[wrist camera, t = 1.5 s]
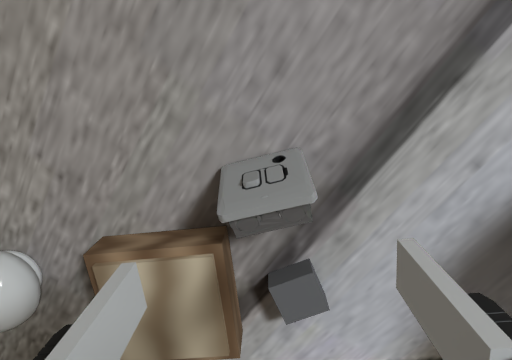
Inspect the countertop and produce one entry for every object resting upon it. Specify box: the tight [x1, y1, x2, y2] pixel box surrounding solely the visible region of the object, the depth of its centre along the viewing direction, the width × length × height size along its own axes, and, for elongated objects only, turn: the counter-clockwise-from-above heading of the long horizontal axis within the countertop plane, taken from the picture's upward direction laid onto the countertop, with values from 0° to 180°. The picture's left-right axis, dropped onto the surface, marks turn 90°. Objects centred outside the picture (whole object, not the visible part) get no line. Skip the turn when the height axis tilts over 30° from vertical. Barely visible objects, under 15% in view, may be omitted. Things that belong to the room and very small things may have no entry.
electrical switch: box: [217, 148, 318, 238], centre depth 29 cm, size 8×5×8 cm, turn 105°
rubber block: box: [268, 259, 329, 325], centre depth 35 cm, size 5×5×3 cm
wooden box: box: [83, 226, 243, 360], centre depth 35 cm, size 14×14×5 cm
